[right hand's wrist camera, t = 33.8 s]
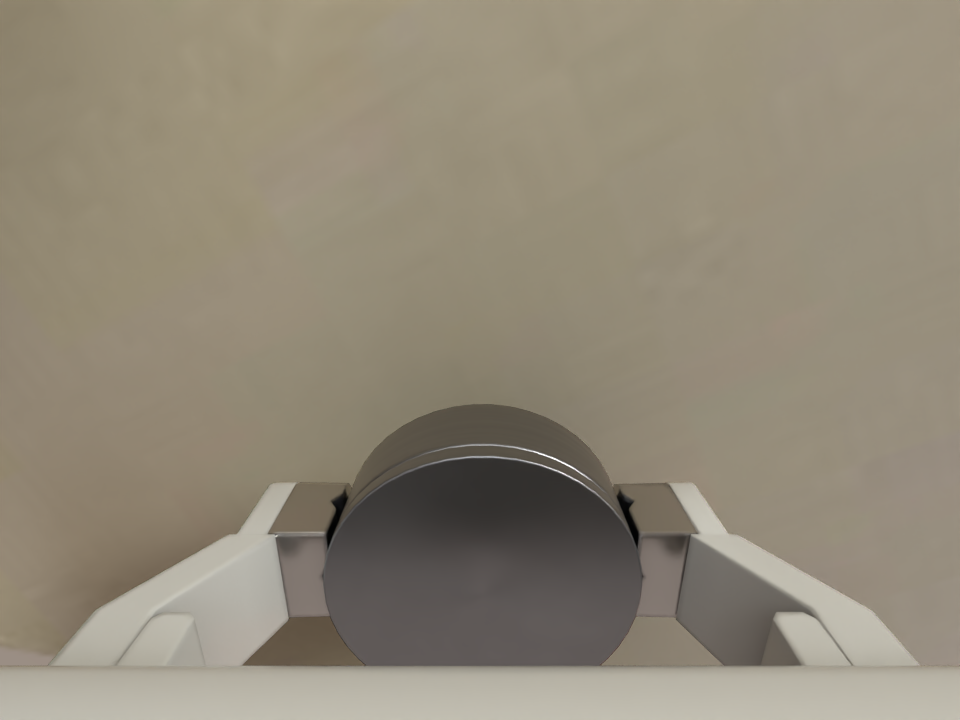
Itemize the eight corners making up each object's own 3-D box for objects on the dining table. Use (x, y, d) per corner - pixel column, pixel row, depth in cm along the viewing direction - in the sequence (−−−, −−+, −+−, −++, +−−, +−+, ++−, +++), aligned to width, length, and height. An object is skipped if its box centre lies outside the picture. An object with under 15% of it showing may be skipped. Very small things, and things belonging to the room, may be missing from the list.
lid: (650, 428, 10) (687, 487, 8) (577, 638, 11) (594, 723, 10) (364, 378, 9) (337, 428, 8) (337, 603, 11) (310, 685, 9)
